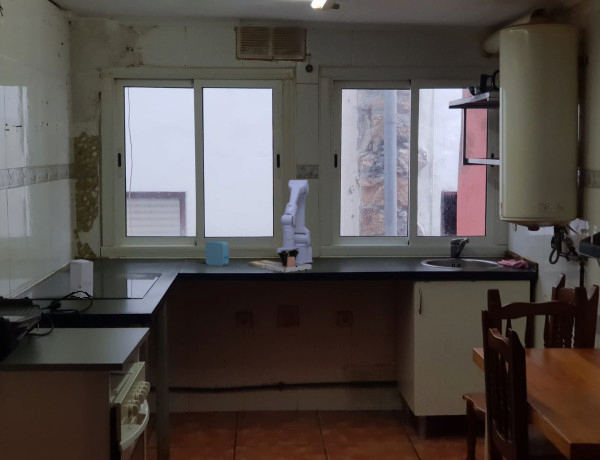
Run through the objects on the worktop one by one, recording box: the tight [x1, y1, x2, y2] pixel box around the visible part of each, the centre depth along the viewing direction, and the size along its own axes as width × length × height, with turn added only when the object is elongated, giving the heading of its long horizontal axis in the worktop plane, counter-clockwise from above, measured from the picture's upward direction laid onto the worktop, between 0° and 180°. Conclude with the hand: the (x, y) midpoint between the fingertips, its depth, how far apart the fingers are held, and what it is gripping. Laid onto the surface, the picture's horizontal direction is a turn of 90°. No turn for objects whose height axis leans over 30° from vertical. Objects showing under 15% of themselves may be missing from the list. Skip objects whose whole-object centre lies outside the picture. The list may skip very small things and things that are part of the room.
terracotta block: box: [282, 255, 296, 268], centre depth 386 cm, size 4×4×6 cm
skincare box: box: [69, 259, 94, 299], centre depth 311 cm, size 8×6×15 cm
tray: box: [264, 262, 313, 273], centre depth 386 cm, size 18×16×2 cm
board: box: [247, 259, 281, 269], centre depth 398 cm, size 12×12×2 cm
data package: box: [205, 240, 230, 267], centre depth 400 cm, size 12×4×12 cm, turn 56°
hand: (288, 265), depth 386 cm, fingers closed on terracotta block, 5 cm apart
